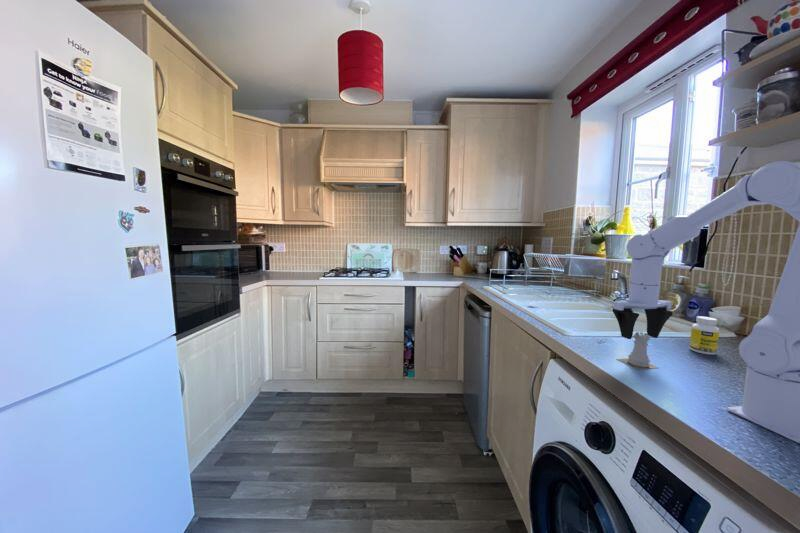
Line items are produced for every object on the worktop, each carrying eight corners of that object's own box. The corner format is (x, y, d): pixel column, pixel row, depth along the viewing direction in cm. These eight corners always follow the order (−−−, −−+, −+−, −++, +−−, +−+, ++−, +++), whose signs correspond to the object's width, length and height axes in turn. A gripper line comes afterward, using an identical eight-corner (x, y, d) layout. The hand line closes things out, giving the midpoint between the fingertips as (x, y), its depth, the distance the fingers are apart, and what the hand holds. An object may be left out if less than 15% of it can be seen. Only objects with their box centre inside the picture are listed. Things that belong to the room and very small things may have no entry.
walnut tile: (658, 370, 72) (659, 367, 71) (637, 371, 71) (638, 369, 71) (635, 360, 77) (635, 357, 77) (616, 361, 76) (616, 359, 76)
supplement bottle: (698, 354, 81) (702, 319, 80) (684, 347, 86) (687, 314, 85) (722, 356, 80) (726, 321, 79) (706, 349, 85) (710, 316, 84)
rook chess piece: (654, 368, 71) (658, 337, 70) (635, 368, 71) (639, 336, 70) (640, 360, 75) (644, 330, 74) (622, 359, 76) (626, 330, 75)
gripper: (653, 281, 77) (648, 331, 78) (605, 281, 75) (600, 333, 76) (682, 285, 70) (676, 340, 71) (630, 286, 68) (625, 342, 69)
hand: (639, 337), depth 73 cm, fingers open, 7 cm apart
